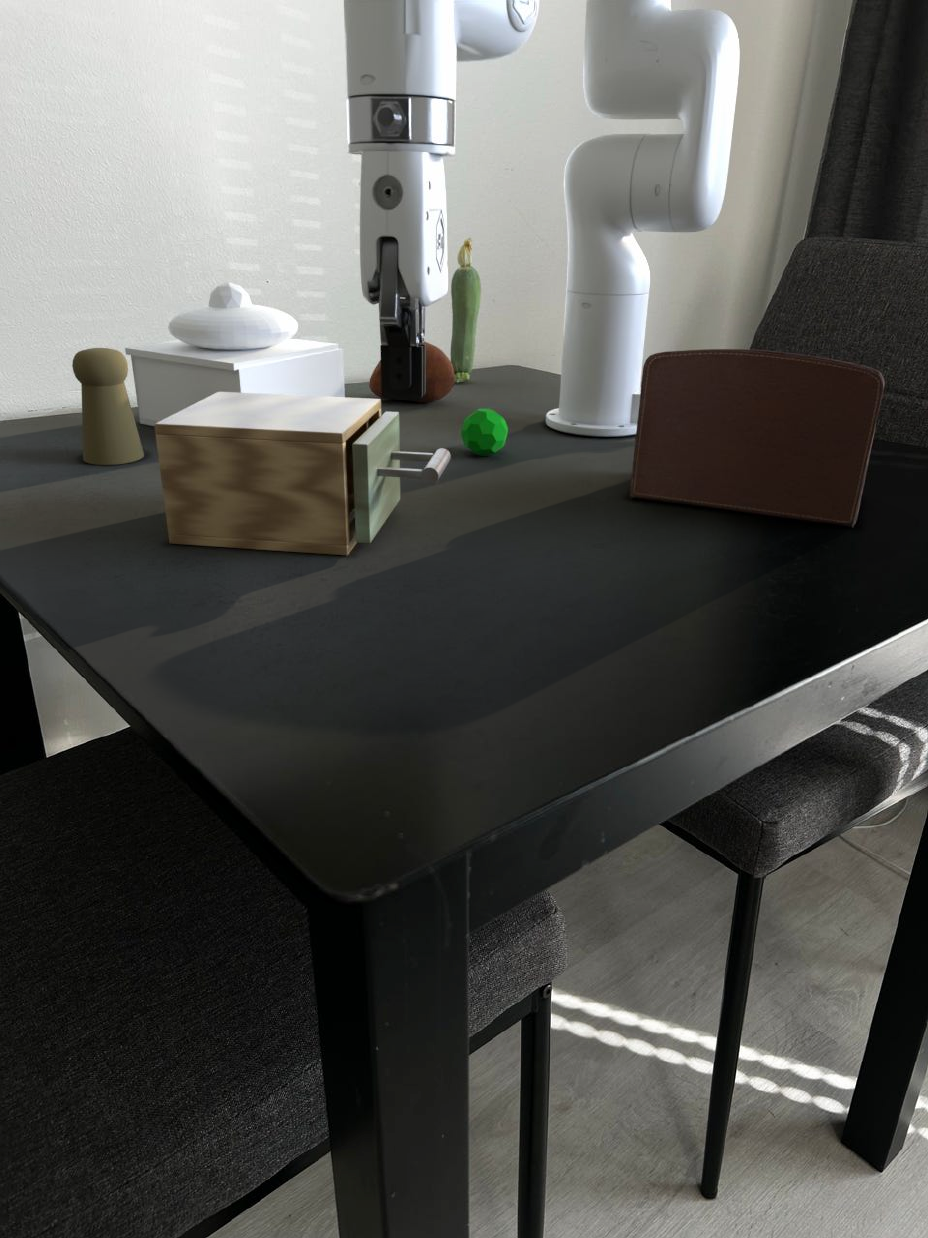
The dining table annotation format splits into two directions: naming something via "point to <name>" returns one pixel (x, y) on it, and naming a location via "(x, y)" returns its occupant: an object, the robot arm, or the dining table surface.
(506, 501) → the dining table surface
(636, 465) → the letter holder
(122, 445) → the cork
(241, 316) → the butter dish
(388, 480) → the drawer
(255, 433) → the cabinet
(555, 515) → the dining table surface
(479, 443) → the polyhedron
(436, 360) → the potato
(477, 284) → the vegetable
